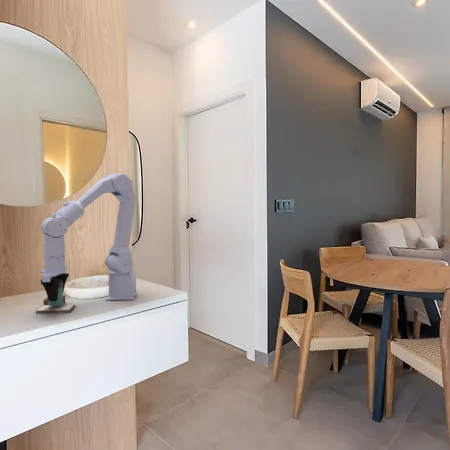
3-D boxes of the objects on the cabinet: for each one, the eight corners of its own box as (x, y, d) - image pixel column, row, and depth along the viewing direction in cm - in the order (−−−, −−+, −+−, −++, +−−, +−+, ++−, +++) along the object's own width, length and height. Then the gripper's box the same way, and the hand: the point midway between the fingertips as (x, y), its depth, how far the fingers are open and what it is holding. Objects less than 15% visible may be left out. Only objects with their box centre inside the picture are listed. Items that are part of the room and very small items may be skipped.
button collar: (65, 302, 111) (65, 295, 111) (59, 307, 106) (59, 299, 106) (49, 302, 110) (49, 295, 110) (43, 307, 105) (43, 300, 105)
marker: (65, 301, 105) (64, 280, 104) (60, 305, 101) (59, 283, 100) (51, 302, 104) (50, 280, 104) (46, 306, 100) (45, 284, 100)
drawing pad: (75, 307, 106) (75, 304, 106) (70, 312, 101) (70, 309, 101) (42, 308, 105) (42, 304, 105) (35, 313, 100) (35, 310, 100)
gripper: (50, 252, 108) (51, 292, 109) (30, 260, 94) (31, 306, 95) (72, 252, 109) (73, 291, 110) (56, 260, 95) (57, 306, 96)
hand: (55, 298), depth 103 cm, fingers closed on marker, 4 cm apart
